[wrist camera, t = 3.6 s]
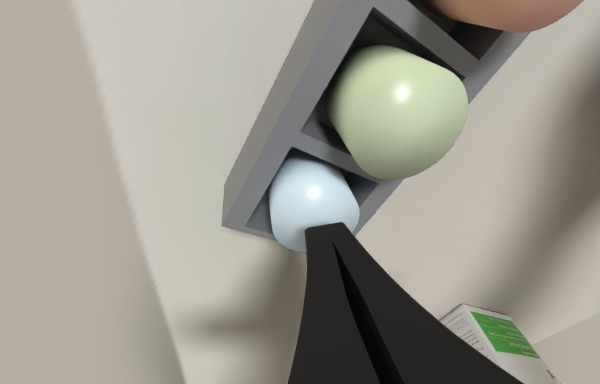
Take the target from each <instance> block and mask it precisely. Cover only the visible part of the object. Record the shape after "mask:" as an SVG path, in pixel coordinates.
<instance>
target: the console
mask: <svg viewBox="0 0 600 384" xmlns="http://www.w3.org/2000/svg"><path fill="white" fill-rule="evenodd" d="M530 33H531V32H524V33H515V32H509V31H504V30H499V29H494V28H490V27H485V26H480V25H475V24H470V23H465V22H461V21H456V20H451V19H446V18H442V17H438V16H436V15H434V14H432V13H431V12H430V11H428V10H427V9H426V8H425V7H424V5H423V4H422V2H421V1H420V0H315V1H314V3H313V5H312V7H311V9H310V11H309V13H308V15H307V17H306V19H305V21H304V23H303V25H302V27H301V29H300V31H299V33H298V36H297V38H296V40H295V42H294V44H293V46H292V48H291V50H290V52H289V54H288V56H287V58H286V60H285V62H284V64H283V66H282V68H281V70H280V72H279V74H278V76H277V78H276V81H275V83H274V85H273V87H272V89H271V91H270V93H269V95H268V97H267V99H266V101H265V103H264V105H263V107H262V109H261V111H260V113H259V115H258V117H257V119H256V121H255V124H254V126H253V128H252V130H251V132H250V134H249V136H248V138H247V140H246V142H245V144H244V146H243V148H242V150H241V152H240V154H239V156H238V158H237V160H236V162H235V164H234V166H233V169H232V171H231V173H230V175H229V177H228V179H227V181H226V183H225V187H224V200H223V214H222V226H224V227H227V228H231V229H235V230H238V231H242V232H246V233H250V234H253V235H257V236H261V237H265V238H268V239H272V240H276V241H277V239H276V238H275V236H274V234H273V230H272V224H271V216H270V208H269V200H268V192H267V188H268V186H269V184H270V182H271V181H272V179H273V177H274V176H275V174H276V172H277V170H278V169H279V167H280V165H281V164H282V162H283V160H284V159H285V157H286V155H287V153H288V152H289V150H291V149H294V148H297V149H300V150H302V151H304V152H307V153H309V154H311V155H313V156H316V157H318V158H320V159H323V160H325V161H327V162H330V163H332V164H334V165H337V166H338V167H339V169H340V171H341V173H342V174H343V176H344V178H345V180H346V182H347V184H348V186H349V188H350V190H351V192H352V194H353V196H354V198H355V200H356V202H357V204H358V206H359V212H360V214H359V220H358V223H357V226H356V227H355V229H354V231H353V232H352V234H353V235H354V236H355V235H356V234H357V233H358V232H359V231H360V230H361V228H362V227H363V226H364V225H365V224H366V223H367V222H368V220H369V219H370V218H371V217H372V216H373V215H374V213H375V212H376V211H377V210H378V209H379V208H380V206H381V205H382V204H383V203H384V202H385V201H386V199H387V198H388V197H389V196H390V195H391V194H392V193H393V191H394V190H395V189H396V188H397V187H398V186H399V184H400V183H401V182H402V181H403V180H404V179H405V178H403V179H397V180H386V179H380V178H376V177H373V176H371V175H369V174H368V173H366V172H365V171H363V170H362V169H361V168H360V167H359V165H358V164H357V162H356V161H355V159H354V158H353V156H352V154H351V153H350V151H349V150H348V148H347V146H346V145H345V143H344V142H343V140H342V138H341V137H340V135H339V134H338V132H337V130H336V129H335V127H334V126H333V124H332V122H331V121H330V119H329V117H328V114H327V110H326V91H327V87H328V84H329V81H330V80H331V78H332V76H333V75H334V73H335V71H336V69H337V68H338V66H339V64H340V63H341V62H342V61H343V60H344V59H345V58H346V57H347V56H348V55H350V54H351V53H352V52H354V51H356V50H358V49H359V48H362V47H364V46H367V45H371V44H377V43H386V44H391V45H394V46H396V47H399V48H401V49H403V50H405V51H407V52H410V53H412V54H414V55H416V56H419V57H421V58H423V59H425V60H427V61H430V62H432V63H434V64H436V65H438V66H441V67H443V68H445V69H447V70H449V71H451V72H452V73H454V74H455V75H456V76H457V77H458V78H459V79H460V81H461V82H462V83H463V85H464V87H465V90H466V93H467V98H468V104H469V103H470V102H471V101H472V100H473V99H474V97H475V96H476V95H477V94H478V93H479V92H480V91H481V89H482V88H483V87H484V86H485V85H486V84H487V82H488V81H489V80H490V79H491V78H492V77H493V75H494V74H495V73H496V72H497V71H498V70H499V69H500V67H501V66H502V65H503V64H504V63H505V62H506V60H507V59H508V58H509V57H510V56H511V55H512V53H513V52H514V51H515V50H516V49H517V48H518V47H519V45H520V44H521V43H522V42H523V41H524V40H525V38H526V37H527V36H528V35H529V34H530Z"/></svg>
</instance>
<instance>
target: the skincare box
mask: <svg viewBox="0 0 600 384" xmlns="http://www.w3.org/2000/svg"><path fill="white" fill-rule="evenodd" d="M439 321H440V322H441V323H442V324H443V325H445V326H446V327H447V328H448V329H450V330H451V331H452V332H453V333H455V334H456V335H457V336H458V337H460V338H461V339H463V340H464V341H465V342H467V343H468V344H469V345H471V346H472V347H473V348H475V349H476V350H477V351H479V352H480V353H481V354H483V355H484V356H485V357H487V358H488V359H490V360H491V361H492V362H494V363H495V364H496V365H498V366H499V367H501V368H502V369H504V370H505V371H507V372H508V373H510V374H511V375H512V376H514V377H515V378H517V379H518V380H520V381H521V382H523V383H524V384H561V383H560V382H559V381H558V379H557V378H556V376H555V375H554V374H553V372H552V371H551V370H550V369H549V367H548V366H547V364H546V363H545V362H544V361H543V359H542V358H541V357H540V355H539V354H538V353H537V351H536V350H535V349H534V347H533V346H532V345H531V343H530V342H529V341H528V339H527V338H526V337H525V335H524V334H523V333H522V331H521V330H520V329H519V327H518V326H517V325H516V323H515V322H514V321H513V319H512V318H511V317H510V316H507V315H502V314H499V313H496V312H492V311H487V310H484V309H480V308H476V307H472V306H468V305H465V304H460V305H459V306H458V307H456V308H455V309H454V310H453V311H451V312H450V313H449V314H447V315H446V316H444V317H443V318H442V319H440V320H439Z"/></svg>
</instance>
